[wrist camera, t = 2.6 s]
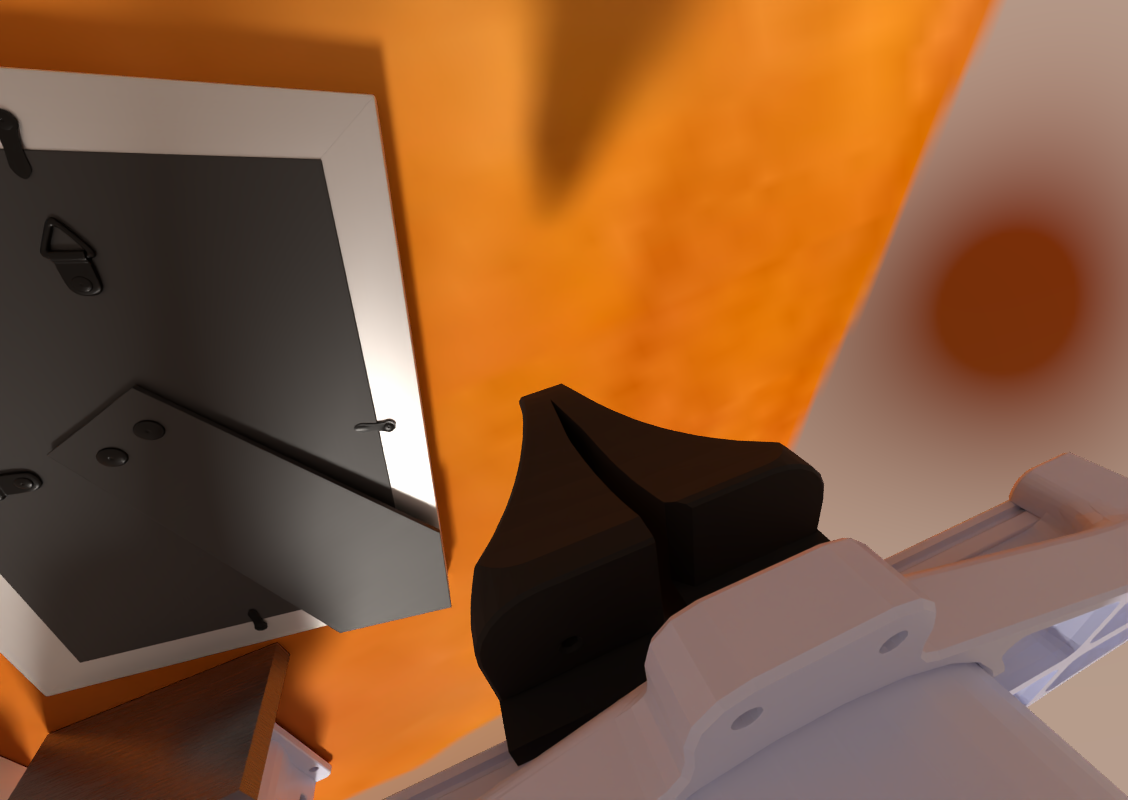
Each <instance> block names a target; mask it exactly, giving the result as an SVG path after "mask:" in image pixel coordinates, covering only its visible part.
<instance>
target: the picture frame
mask: <svg viewBox="0 0 1128 800" xmlns="http://www.w3.org/2000/svg"><path fill="white" fill-rule="evenodd" d="M450 607H451V600H450V590H449V581H448V572H447V566H446V559H445V552H444V546H443V539H442V532H441V526H440V519H439V512H438V506H437V499H436V492H435V486H434V479H433V472H432V466H431V459H430V452H429V446H428V439H427V432H426V426H425V419H424V412H423V406H422V399H421V392H420V386H419V379H418V372H417V366H416V359H415V352H414V346H413V339H412V332H411V326H410V319H409V312H408V306H407V299H406V292H405V286H404V279H403V272H402V266H401V259H400V252H399V246H398V239H397V232H396V226H395V219H394V212H393V206H392V199H391V192H390V186H389V179H388V172H387V166H386V159H385V152H384V146H383V139H382V132H381V126H380V119H379V112H378V106H377V100H376V98H375V96H374V94H361V93H347V92H334V91H321V90H307V89H294V88H280V87H267V86H254V85H240V84H227V83H214V82H200V81H187V80H174V79H160V78H147V77H134V76H120V75H107V74H94V73H80V72H67V71H54V70H40V69H27V68H14V67H0V653H1V654H3V655H4V656H5V657H6V658H7V659H8V660H9V661H10V662H11V663H12V664H13V665H14V666H15V667H16V668H17V669H18V670H19V671H20V672H21V673H22V674H23V675H24V676H25V677H26V678H27V679H28V680H29V681H30V682H31V683H32V684H34V685H35V686H36V687H37V688H38V689H39V690H40V691H41V692H42V693H43V694H44V695H45V696H51V695H55V694H59V693H63V692H67V691H71V690H75V689H78V688H82V687H86V686H90V685H94V684H98V683H102V682H106V681H110V680H114V679H118V678H122V677H126V676H130V675H134V674H138V673H141V672H145V671H149V670H153V669H157V668H161V667H165V666H169V665H173V664H177V663H181V662H185V661H189V660H193V659H197V658H201V657H204V656H208V655H212V654H216V653H220V652H224V651H228V650H232V649H236V648H240V647H244V646H248V645H252V644H256V643H260V642H264V641H267V640H271V639H275V638H279V637H283V636H287V635H291V634H295V633H299V632H303V631H307V630H311V629H315V628H319V627H323V626H327V625H328V626H329V627H331V628H333V629H334V630H336V631H338V632H339V633H342V632H346V631H351V630H355V629H359V628H364V627H368V626H372V625H376V624H381V623H385V622H389V621H394V620H398V619H402V618H407V617H411V616H415V615H420V614H424V613H428V612H432V611H437V610H441V609H445V608H450Z"/></svg>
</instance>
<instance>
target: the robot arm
mask: <svg viewBox="0 0 1128 800" xmlns="http://www.w3.org/2000/svg"><path fill="white" fill-rule="evenodd" d="M519 404H520V407H521V410H522V414H523V441H522V449H521V456H520V462H519V467H518V472H517V476H516V479H515V483H514V486H513V489H512V492H511V495H510V499H509V501H508V504H507V506H506V509H505V511H504V513H503V516H502V518H501V520H500V522H499V524H498V526H497V529H496V531H495V533H494V535H493V537H492V539H491V540H490V542H489V544H488V545H487V547H486V549H485V550H484V552H483V554H482V556H481V557H480V559H479V561H478V562H477V564H476V565H475V568H474V575H473V584H472V594H471V631H472V638H473V645H474V652H475V656H476V659H477V663H478V666H479V668H480V669H481V671H482V673H483V674H484V676H485V677H486V679H487V681H488V682H489V684H490V686H491V687H492V689H493V691H494V692H495V694H496V696H497V697H498V699H499V701H500V707H501V712H502V718H503V724H504V729H505V735H506V741H504V742H502V743H500V744H498V745H496V746H494V747H491V748H489V749H487V750H485V751H483V752H481V753H479V754H477V755H475V756H473V757H470V758H468V759H466V760H464V761H462V762H460V763H458V764H456V765H454V766H452V767H450V768H448V769H445V770H443V771H441V772H439V773H437V774H435V775H433V776H431V777H429V778H427V779H424V780H422V781H420V782H418V783H416V784H414V785H412V786H410V787H408V788H406V789H404V790H402V791H399V792H397V793H395V794H393V795H392V796H389V797H387V798H385V799H383V800H1128V796H1127V795H1125V794H1124V793H1123V792H1122V791H1121V790H1120V789H1119V788H1118V787H1117V786H1115V785H1114V784H1113V783H1112V782H1111V781H1110V780H1108V779H1107V778H1106V777H1105V776H1104V775H1103V774H1102V773H1100V771H1098V770H1097V769H1096V768H1095V767H1094V766H1093V765H1092V764H1090V763H1089V762H1088V761H1087V760H1086V759H1085V758H1084V757H1082V756H1081V755H1080V754H1079V753H1078V752H1077V751H1076V750H1075V749H1073V748H1072V747H1071V746H1070V745H1069V744H1068V743H1067V742H1065V741H1064V740H1063V739H1062V738H1061V737H1060V736H1059V735H1057V734H1056V733H1055V732H1054V731H1053V730H1052V729H1051V728H1050V727H1048V726H1047V725H1046V724H1045V723H1044V722H1043V721H1042V720H1041V719H1039V718H1038V717H1037V716H1036V715H1035V714H1034V713H1033V712H1031V711H1030V710H1029V709H1028V708H1027V707H1028V706H1030V705H1031V704H1033V703H1034V702H1036V701H1037V700H1039V699H1040V698H1042V697H1043V696H1044V695H1046V694H1048V693H1049V692H1050V691H1052V690H1053V689H1055V688H1057V687H1058V686H1059V685H1061V684H1062V683H1064V682H1065V681H1067V680H1068V679H1070V678H1071V677H1073V676H1074V675H1076V674H1077V673H1079V672H1080V671H1082V670H1083V669H1085V668H1086V667H1088V666H1089V665H1091V664H1093V663H1094V662H1096V661H1097V660H1099V659H1100V658H1101V657H1103V656H1105V655H1106V654H1108V653H1109V652H1111V651H1113V650H1114V649H1116V648H1117V647H1119V646H1120V645H1122V644H1124V643H1125V642H1127V641H1128V478H1127V477H1125V476H1123V475H1120V474H1118V473H1116V472H1114V471H1111V470H1109V469H1107V468H1104V467H1102V466H1100V465H1098V464H1095V463H1093V462H1091V461H1089V460H1086V459H1084V458H1082V457H1080V456H1077V455H1075V454H1073V453H1071V452H1069V453H1063V454H1061V455H1058V456H1056V457H1054V458H1052V459H1050V460H1048V461H1046V462H1043V463H1041V464H1039V465H1037V466H1035V467H1033V468H1031V469H1029V470H1028V471H1026V472H1025V473H1024V474H1023V475H1022V476H1021V477H1020V478H1019V479H1018V480H1017V481H1016V483H1015V484H1014V486H1013V488H1012V490H1011V492H1010V495H1009V500H1008V501H1006V502H1003V503H1002V504H999V505H997V506H995V507H993V508H991V509H989V510H987V511H985V512H983V513H980V514H978V515H976V516H974V517H972V518H970V519H968V520H966V521H964V522H962V523H960V524H957V525H955V526H953V527H951V528H949V529H947V530H945V531H943V532H941V533H939V534H937V535H934V536H932V537H930V538H928V539H926V540H924V541H922V542H920V543H918V544H916V545H914V546H911V547H909V548H908V549H905V550H903V551H901V552H899V553H897V554H895V555H893V556H891V557H889V558H886V559H884V560H883V559H882V558H881V557H880V556H879V555H878V554H876V553H875V552H874V551H873V550H872V549H870V548H869V547H868V546H867V545H866V544H863V543H861V542H859V541H856V540H854V539H852V538H841V539H837V540H833V541H830V540H829V539H828V538H827V537H825V536H824V535H823V534H822V533H821V532H820V531H819V530H818V529H817V527H818V522H819V517H820V512H821V507H822V502H823V491H824V483H823V480H822V477H821V475H820V473H819V472H817V471H816V470H815V469H814V468H813V467H812V466H811V465H809V464H808V463H807V462H805V461H804V460H803V459H801V458H800V457H799V456H798V455H796V454H795V453H794V452H792V451H791V450H789V449H788V448H787V447H785V446H784V445H782V444H780V443H778V442H756V441H736V440H727V439H718V438H710V437H703V436H697V435H692V434H687V433H682V432H677V431H672V430H668V429H664V428H661V427H657V426H654V425H651V424H647V423H644V422H641V421H638V420H635V419H632V418H630V417H627V416H625V415H622V414H620V413H618V412H615V411H613V410H611V409H608V408H606V407H604V406H602V405H600V404H598V403H596V402H594V401H592V400H590V399H589V398H587V397H585V396H583V395H581V394H579V393H578V392H576V391H574V390H572V389H571V388H569V387H567V386H565V385H563V384H559V385H556V386H553V387H550V388H547V389H544V390H541V391H538V392H535V393H532V394H529V395H526V396H524V397H522V398H521V399H520V401H519ZM331 767H332V766H331V765H330V764H329V763H328V762H326V761H325V760H324V759H322V758H321V757H320V756H318V755H317V754H316V753H314V752H313V751H312V750H310V749H309V748H308V747H307V746H305V745H304V744H303V743H301V742H300V741H299V740H297V739H296V738H295V737H293V736H292V735H291V734H289V733H288V732H287V731H286V730H284V729H283V728H282V727H280V726H279V725H278V724H276V723H275V724H274V728H273V732H272V737H271V741H270V746H269V750H268V754H267V759H266V763H265V768H264V772H263V776H262V781H261V785H260V790H259V794H258V798H257V800H313V798H314V791H315V784H316V782H317V781H320V780H322V779H324V778H326V777H328V776H329V775H330V773H331Z"/></svg>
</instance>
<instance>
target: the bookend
mask: <svg viewBox="0 0 1128 800" xmlns="http://www.w3.org/2000/svg"><path fill="white" fill-rule="evenodd" d="M289 657H290V654H289V653H288V652H287V651H286V650H285V649H284V648H283V647H282V646H281V645H280V644H279V643H278V642H277V643H274V644H272V645H269V646H267V647H264V648H262V649H259V650H257V651H255V652H252V653H250V654H247V655H245V656H242V657H240V658H237V659H235V660H232V661H230V662H227V663H225V664H222V665H220V666H217V667H215V668H212V669H210V670H207V671H205V672H202V673H200V674H197V675H195V676H192V677H190V678H187V679H185V680H182V681H180V682H177V683H175V684H172V685H170V686H167V687H165V688H162V689H160V690H157V691H155V692H153V693H150V694H148V695H145V696H143V697H140V698H138V699H135V700H133V701H130V702H128V703H125V704H123V705H120V706H118V707H115V708H113V709H110V710H108V711H105V712H103V713H100V714H98V715H95V716H93V717H90V718H88V719H85V720H83V721H80V722H78V723H75V724H73V725H70V726H68V727H65V728H63V729H60V730H58V731H55V732H53V733H51V734H48V735H47V737H46V738H45V740H44V742H43V743H42V745H41V746H40V748H39V750H38V751H37V753H36V755H35V756H34V758H33V759H32V761H31V763H30V764H29V766H28V767H27V769H26V771H25V772H24V774H23V776H22V777H21V779H20V780H19V782H18V784H17V785H16V787H15V789H14V790H13V792H12V793H11V795H10V797H9V798H8V800H257V798H258V794H259V790H260V785H261V781H262V776H263V772H264V768H265V763H266V759H267V754H268V750H269V746H270V741H271V737H272V732H273V728H274V724H275V719H276V715H277V710H278V706H279V701H280V697H281V693H282V688H283V684H284V679H285V675H286V671H287V666H288V662H289Z"/></svg>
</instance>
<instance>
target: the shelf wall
mask: <svg viewBox="0 0 1128 800" xmlns="http://www.w3.org/2000/svg"><path fill="white" fill-rule="evenodd" d="M26 769H27V767H24V766H22V765H20V764H17V763H15V762H12V761H10V760H8V759H5V758H3V757H0V800H8V798H9V797H10V795H11V793H12V792H13V790H14V789H15V787H16V785H17V784H18V782H19V780H20V779H21V777H22V776H23V774H24V772H25V771H26Z"/></svg>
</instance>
